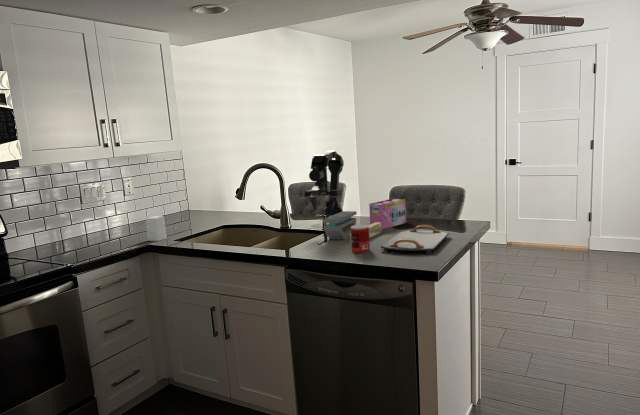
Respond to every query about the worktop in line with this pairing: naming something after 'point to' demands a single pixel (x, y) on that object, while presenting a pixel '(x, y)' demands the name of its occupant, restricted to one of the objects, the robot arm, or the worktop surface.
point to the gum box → (388, 212)
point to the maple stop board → (373, 229)
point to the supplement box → (156, 228)
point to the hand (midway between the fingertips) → (323, 210)
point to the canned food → (360, 238)
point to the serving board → (416, 240)
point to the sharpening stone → (340, 225)
